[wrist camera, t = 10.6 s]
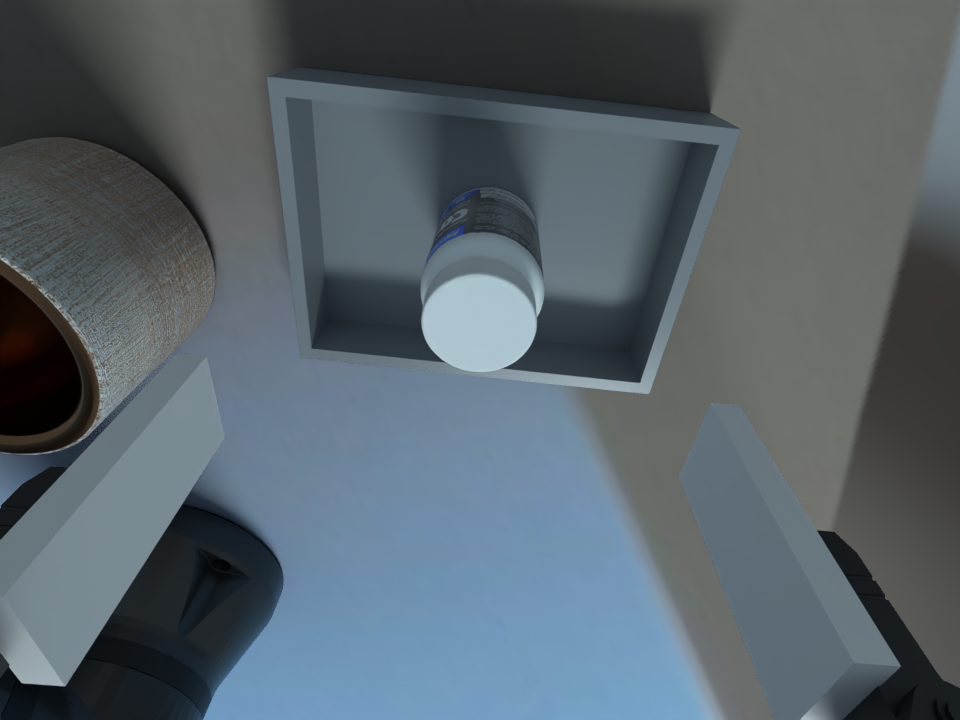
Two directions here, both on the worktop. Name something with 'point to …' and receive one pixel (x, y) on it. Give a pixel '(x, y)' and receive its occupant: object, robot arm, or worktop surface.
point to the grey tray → (505, 165)
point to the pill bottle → (483, 281)
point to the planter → (88, 286)
